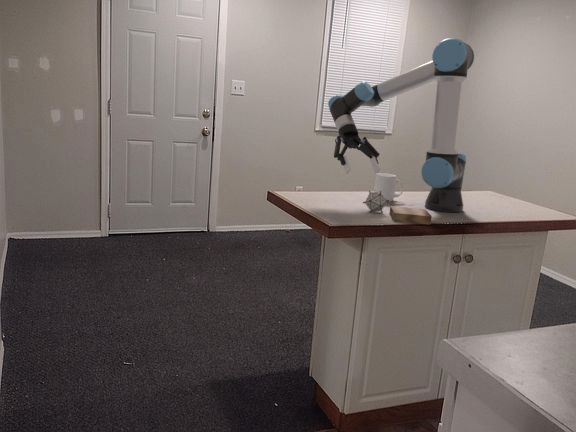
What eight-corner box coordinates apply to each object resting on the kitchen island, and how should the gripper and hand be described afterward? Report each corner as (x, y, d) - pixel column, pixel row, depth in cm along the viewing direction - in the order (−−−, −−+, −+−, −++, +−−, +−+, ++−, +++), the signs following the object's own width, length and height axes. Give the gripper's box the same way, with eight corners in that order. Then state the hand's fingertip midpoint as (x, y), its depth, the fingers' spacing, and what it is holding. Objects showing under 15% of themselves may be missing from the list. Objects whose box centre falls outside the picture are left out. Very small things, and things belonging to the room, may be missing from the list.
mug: (402, 203, 221) (405, 178, 218) (373, 200, 222) (376, 175, 220) (401, 199, 229) (404, 175, 226) (373, 196, 230) (376, 172, 228)
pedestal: (424, 216, 198) (425, 209, 197) (430, 224, 186) (431, 216, 185) (389, 213, 198) (390, 206, 198) (393, 221, 187) (394, 212, 186)
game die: (377, 222, 199) (388, 205, 192) (357, 212, 200) (366, 195, 192) (383, 207, 205) (394, 190, 198) (364, 198, 206) (373, 180, 198)
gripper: (367, 135, 223) (384, 177, 213) (316, 133, 212) (331, 177, 202) (376, 124, 217) (394, 166, 207) (324, 121, 206) (340, 165, 196)
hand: (363, 171), depth 205 cm, fingers open, 13 cm apart
